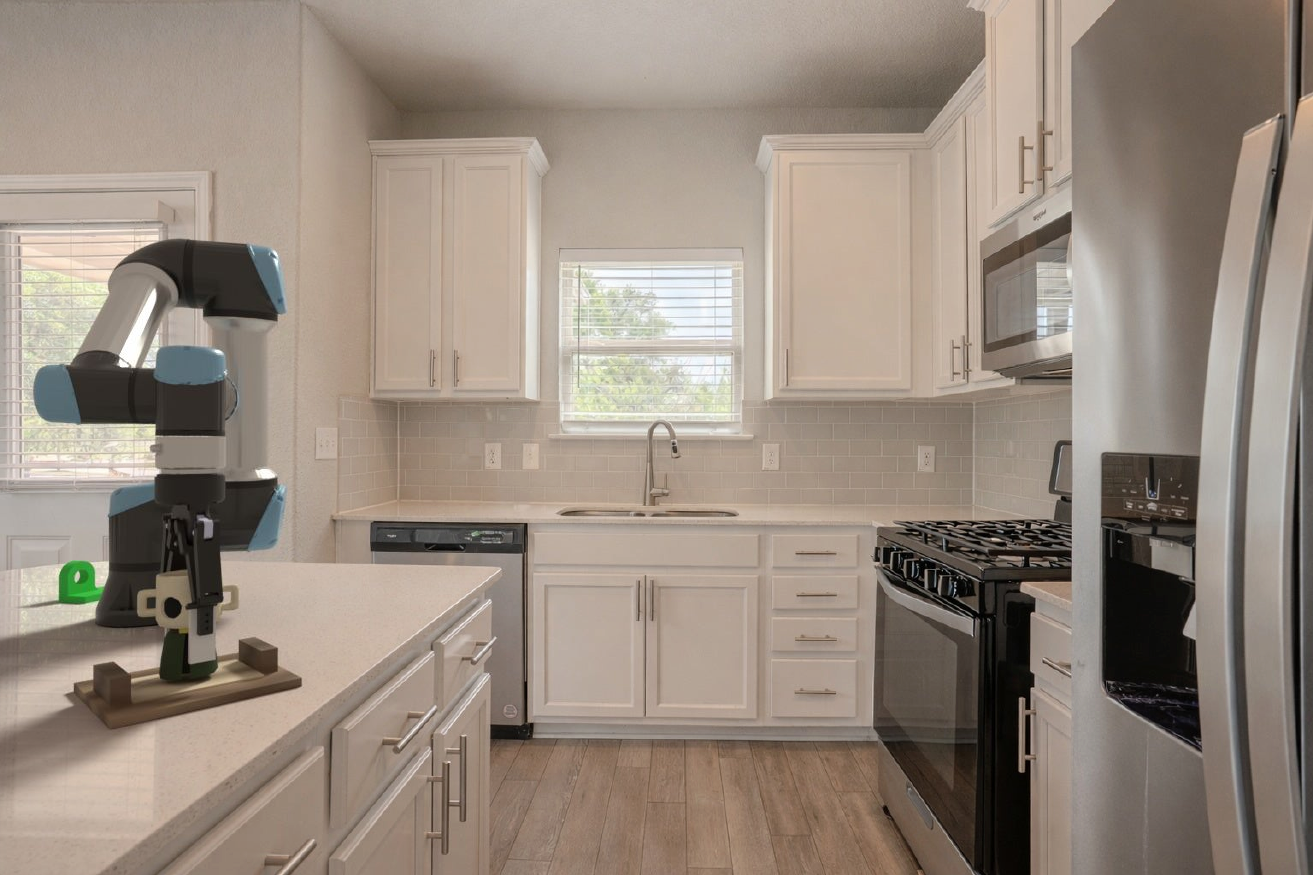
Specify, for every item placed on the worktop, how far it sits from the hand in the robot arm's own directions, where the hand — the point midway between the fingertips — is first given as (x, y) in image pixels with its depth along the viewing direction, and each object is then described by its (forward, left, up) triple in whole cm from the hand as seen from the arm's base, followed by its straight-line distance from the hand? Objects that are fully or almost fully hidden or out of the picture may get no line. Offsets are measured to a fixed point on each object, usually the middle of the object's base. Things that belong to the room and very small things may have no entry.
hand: (189, 653), depth 95 cm
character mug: (0, 0, -3) cm, 3 cm away
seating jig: (0, 0, -4) cm, 4 cm away
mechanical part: (-71, +5, -5) cm, 72 cm away
